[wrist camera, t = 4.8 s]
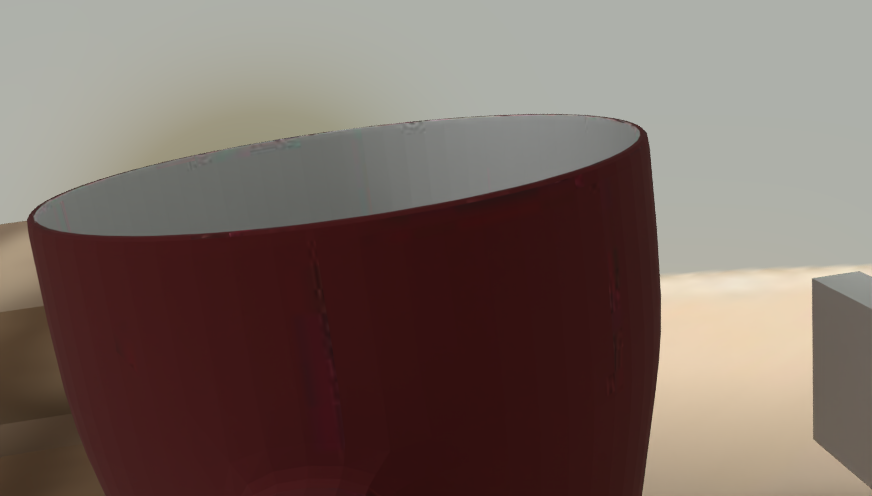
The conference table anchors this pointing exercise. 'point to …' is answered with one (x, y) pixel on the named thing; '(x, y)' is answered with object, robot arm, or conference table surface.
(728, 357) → the conference table surface
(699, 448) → the conference table surface
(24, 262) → the stand
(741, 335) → the conference table surface
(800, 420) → the conference table surface
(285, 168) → the mug
